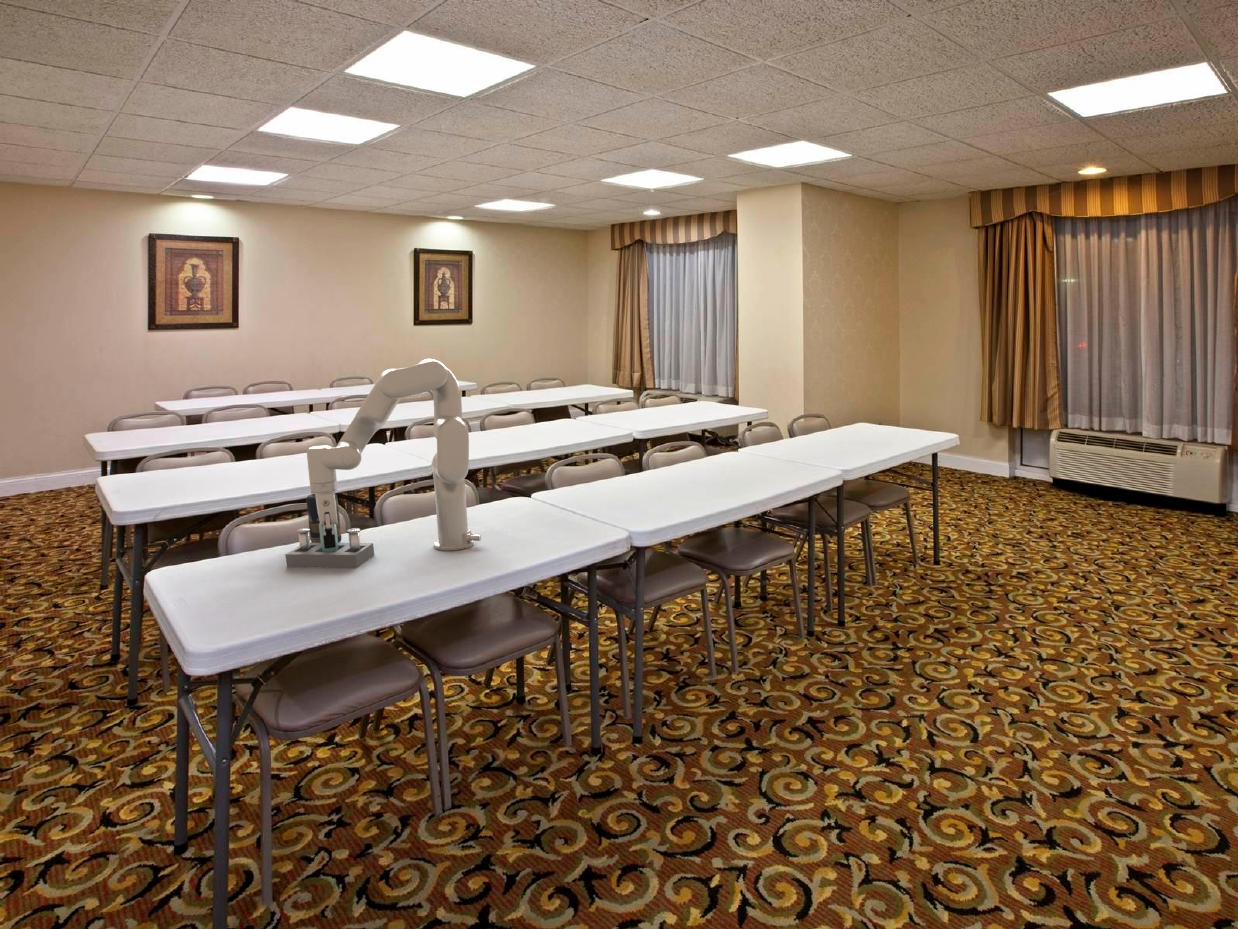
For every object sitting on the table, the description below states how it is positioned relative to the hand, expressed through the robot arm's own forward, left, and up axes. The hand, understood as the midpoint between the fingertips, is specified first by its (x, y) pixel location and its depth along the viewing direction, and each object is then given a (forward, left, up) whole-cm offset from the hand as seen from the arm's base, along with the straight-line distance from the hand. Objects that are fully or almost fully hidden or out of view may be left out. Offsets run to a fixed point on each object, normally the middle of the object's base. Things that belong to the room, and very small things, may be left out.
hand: (329, 544), depth 226 cm
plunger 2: (-8, 0, -4) cm, 9 cm away
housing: (0, 0, -5) cm, 5 cm away
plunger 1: (+8, 0, -4) cm, 9 cm away
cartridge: (0, 0, -5) cm, 5 cm away
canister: (+10, -17, -5) cm, 21 cm away
